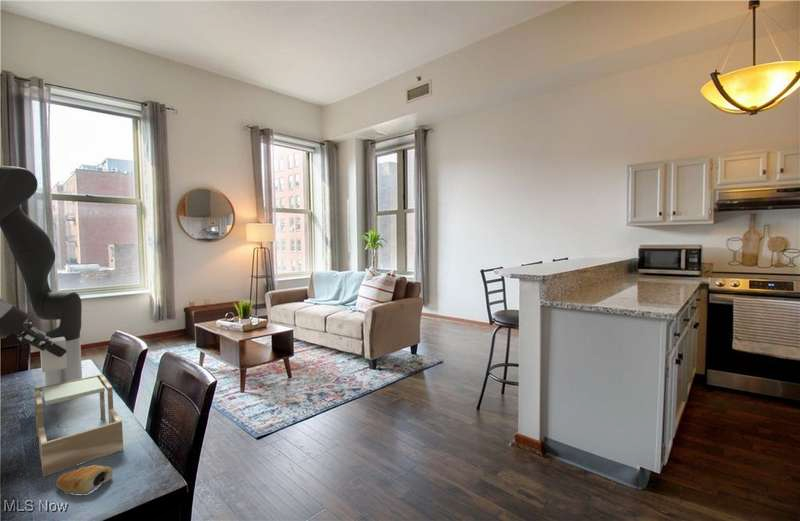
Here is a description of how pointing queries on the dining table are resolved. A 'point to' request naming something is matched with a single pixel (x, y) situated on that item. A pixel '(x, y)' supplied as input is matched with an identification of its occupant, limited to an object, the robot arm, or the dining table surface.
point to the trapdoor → (72, 390)
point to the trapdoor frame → (79, 436)
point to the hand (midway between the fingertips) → (62, 351)
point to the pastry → (84, 479)
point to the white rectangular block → (53, 357)
